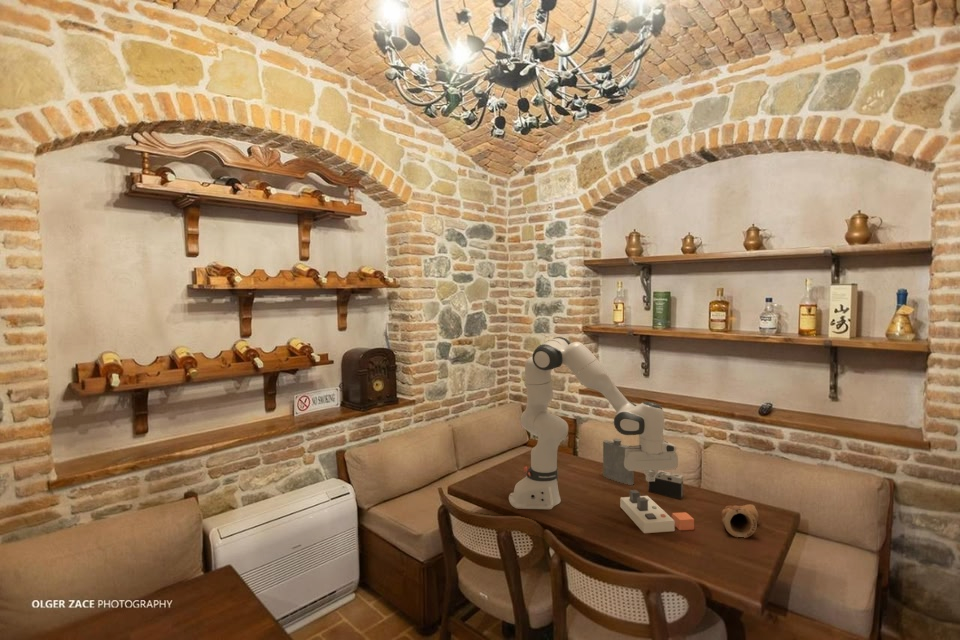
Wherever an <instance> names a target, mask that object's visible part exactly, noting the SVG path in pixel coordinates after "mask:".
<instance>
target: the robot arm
mask: <svg viewBox="0 0 960 640" xmlns="http://www.w3.org/2000/svg"><path fill="white" fill-rule="evenodd" d="M561 366H566V367H568V368H569V370H570V371H571V372H572V373H573V375H574V376H575V378H576V379H577V380H578V382H580V383H581V384H582V385H583V386H584V387H585V388H586V389H591V390H594V391H597V392H599V393H600V394H602V396H603V397H604V398H605V399H606V400H607V401H608V402H609V403H610V405H611V406H612V407H613V409H614V410H615V413H616V415H615V416H614V418H613V425H614V429H616V431H617V432H618V433H620V434H621V435H623V436H637V435H638V436H639V437H638V445H637V444H636V445H627V446H628V447H627V448H626V449H625V459H624V467H625V468H626V469H627V470H628V471H634V472H637V471H640V472H643V473H644V476H645V481H646V482H647V483H649V481H655V477H656V475H657V474H658V470H660V471H667V470H668V471H669V470H670V471H671V470H677V469H678V467H679V458H678V454H677V449H678V448H677V446H676V444H673V443H671V442H669V441H667V440H665V437H664V430H665V413H664V409H663V407H662V406H661V405H660V404H658V403H656V402H652V401H642V402H641V403H640V404H636V403H633V402H632V401H630V400H629V399H628V398H627V397H626V396H625V395H624V394H623V393H622V391H621V390H620V388H618V387H617V385H616V384H615V383H614V381H612V379H611V377H610V376H609V375H608V373H607V371H606V370H605V368H604V366H603V365H602V363H600V361H599V359H598V358H597V357H596V355H594V354H593V352H592V351H591V350H590V349H589V348H588V347H587V346H586V345H584V344H583V342H579V341H574V342H571V341H569V340H568V339H567V338H565V337H562V336H557V337H553V338H550V339H548V340H546V341H545V342H544V343H542V344H540V345H538V346H537V347H536V348H535V350H534V351H533V353H532V356H530V357H528V358H527V359H526V361H525V365H524V377H525V378H524V379H525V381H524V382H525V388H526V389H525V390H526V399H527V400H526V407H525V409H524V410H523V412H521V415H520V419H519V421H520V425H521V426H522V428H523V429H525V431H527V432H528V433H530V434H532V435H535V436H537V443H536V445H535V446H533V447H532V449H531V451H530V467H528V466H524V467H523V470H524V472H525V473H526V476H525V477H523V478H522V479H521V480H519V481H518V482H517V483H516V484H515V485H514V489H513V492H510V493H509V495H508V502H509V504H510V505H511V507H513V508H514V509H517V510H518V509H520V510H521V509H522V510H552V509H553V508H555V506H557V505H559V504H560V503H561V501H562V499H561V496H560V492H559V487H558V481H559V470H558V467H557V466H558V465H557V464H558V462H557V461H558V449H559V446H560V444H561V442H562V441H564V440H565V439H566V438H567V436H568V433H569V424H568V423H567V421H566V420H565V419H563V418H562V417H561V416H559V415H557V414H555V413H554V414H553V413H550V412H549V410H548V407H549V403H550V402H551V401H552V400H553V398H554V392H553V382H552V374H551V370H554V369H558V368H560V367H561ZM650 470H652V471H653V473H652V475H650V476H649V471H650Z"/></svg>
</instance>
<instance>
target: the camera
mask: <svg viewBox="0 0 960 640" xmlns="http://www.w3.org/2000/svg"><path fill="white" fill-rule="evenodd" d="M652 473H653V471H652V470H649V473H648V475H649V476H650V475H652ZM648 492H649V493H652V494H657V495H660V496H665V497H669V498H673V499H677V500H682V498H684V476H683V474H677V473H673V472H668V471H666V470H658V474H657V475H656V477H655V481H649V482H648Z"/></svg>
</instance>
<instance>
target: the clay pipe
mask: <svg viewBox="0 0 960 640" xmlns="http://www.w3.org/2000/svg"><path fill="white" fill-rule="evenodd" d="M759 516H760V515H759V512H758V510H757V509H756V506H755V505H754V504H750V503H749V504H745V505H726V506H725V508H723V509H722V510H721V519H722V520H721V521H722V522H721V523H722V524H723V525H724V528H725V529H726V532H728V534H730V535H731V536H733V537H735V538H738V537H744V538H743V539H747V538H749V537H751V536H752V535H753V534H754V533H756V530H757V528H758V523H757V522H758V521H759Z"/></svg>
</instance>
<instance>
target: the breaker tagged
mask: <svg viewBox="0 0 960 640" xmlns="http://www.w3.org/2000/svg"><path fill="white" fill-rule="evenodd" d="M645 517H646V518H647V519H648V520H650V519H656V516H655V515H654V514H653V513H648V514H645Z"/></svg>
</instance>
